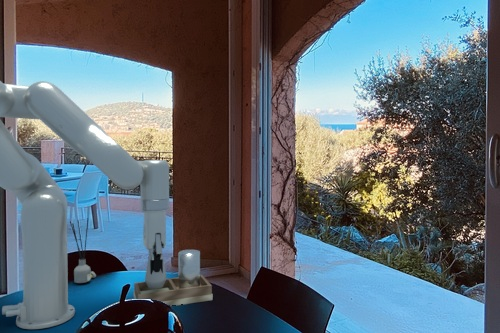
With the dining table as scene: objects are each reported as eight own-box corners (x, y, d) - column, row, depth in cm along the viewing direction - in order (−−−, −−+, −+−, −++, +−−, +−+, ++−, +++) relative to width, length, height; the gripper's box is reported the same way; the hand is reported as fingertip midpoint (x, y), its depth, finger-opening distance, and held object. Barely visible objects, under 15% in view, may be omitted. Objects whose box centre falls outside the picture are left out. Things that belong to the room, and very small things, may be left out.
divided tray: (137, 311, 95) (137, 295, 95) (133, 296, 105) (133, 282, 105) (212, 299, 103) (212, 285, 103) (202, 287, 113) (202, 274, 113)
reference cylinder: (181, 295, 102) (180, 256, 102) (176, 288, 107) (176, 250, 107) (202, 292, 104) (202, 253, 104) (196, 285, 110) (196, 248, 109)
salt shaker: (161, 291, 99) (160, 242, 98) (141, 289, 100) (140, 241, 99) (170, 283, 104) (169, 237, 104) (151, 282, 106) (150, 236, 105)
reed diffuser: (81, 288, 111) (81, 221, 111) (60, 287, 112) (59, 221, 112) (99, 277, 121) (99, 216, 121) (80, 276, 122) (79, 215, 122)
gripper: (137, 202, 107) (137, 265, 108) (144, 210, 92) (145, 283, 93) (163, 201, 110) (164, 262, 111) (174, 208, 95) (175, 279, 96)
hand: (155, 271), depth 102 cm, fingers closed on salt shaker, 3 cm apart
